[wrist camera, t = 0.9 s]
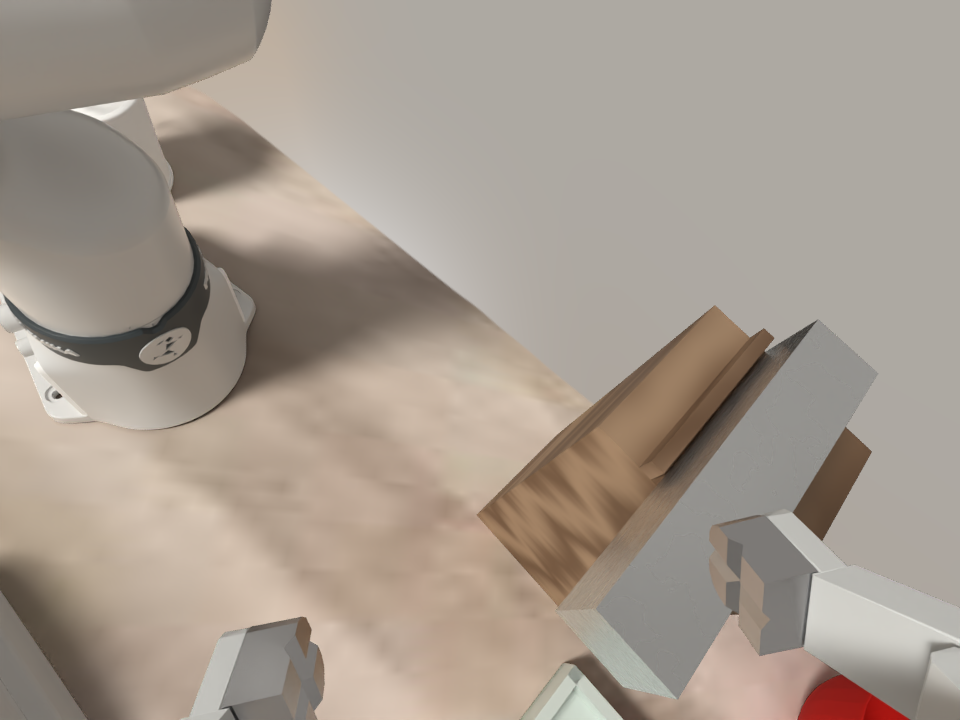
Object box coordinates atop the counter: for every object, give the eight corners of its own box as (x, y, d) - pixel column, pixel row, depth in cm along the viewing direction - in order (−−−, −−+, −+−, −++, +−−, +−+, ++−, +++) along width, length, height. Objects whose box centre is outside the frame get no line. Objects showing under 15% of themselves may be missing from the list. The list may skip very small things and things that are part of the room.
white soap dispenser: (184, 205, 56) (119, 18, 39) (82, 224, 53) (-42, 27, 35) (158, 132, 59) (87, -72, 42) (60, 145, 56) (-64, -73, 38)
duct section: (555, 610, 23) (595, 609, 19) (765, 352, 32) (818, 319, 29) (623, 687, 22) (677, 699, 19) (817, 400, 31) (878, 373, 28)
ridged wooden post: (476, 514, 50) (609, 418, 26) (557, 434, 55) (727, 294, 32) (568, 617, 48) (800, 613, 24) (642, 523, 54) (891, 445, 30)
